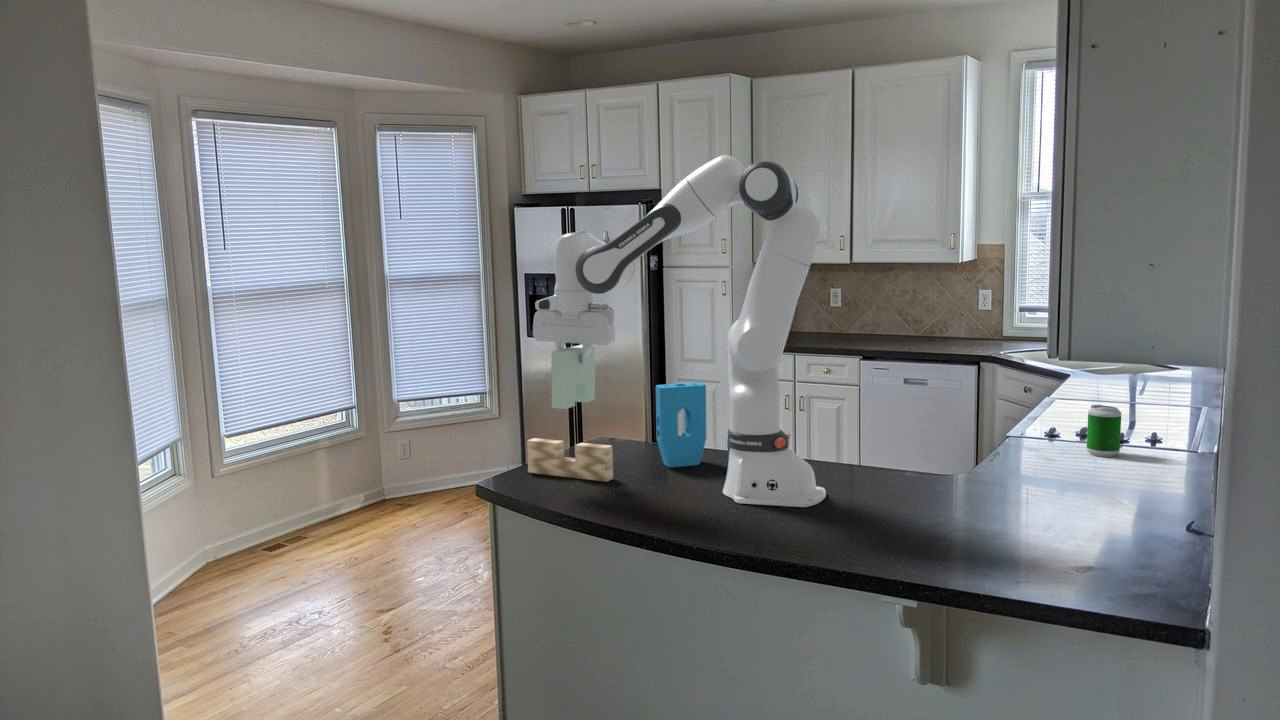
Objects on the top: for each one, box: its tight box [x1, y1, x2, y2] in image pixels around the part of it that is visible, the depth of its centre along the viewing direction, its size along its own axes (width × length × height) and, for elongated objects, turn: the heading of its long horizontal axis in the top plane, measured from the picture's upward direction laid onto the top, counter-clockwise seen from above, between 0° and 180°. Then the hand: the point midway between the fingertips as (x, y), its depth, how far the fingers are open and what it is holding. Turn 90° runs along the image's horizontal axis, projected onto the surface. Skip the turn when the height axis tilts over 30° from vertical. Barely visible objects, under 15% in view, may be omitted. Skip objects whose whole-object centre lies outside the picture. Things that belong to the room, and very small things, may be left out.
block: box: [655, 382, 707, 468], centre depth 237 cm, size 12×5×20 cm, turn 106°
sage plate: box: [551, 344, 596, 410], centre depth 221 cm, size 4×14×13 cm, turn 154°
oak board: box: [526, 437, 614, 483], centre depth 229 cm, size 22×3×8 cm, turn 63°
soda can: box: [1086, 405, 1122, 458], centre depth 240 cm, size 8×8×12 cm
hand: (573, 362), depth 221 cm, fingers closed on sage plate, 3 cm apart
